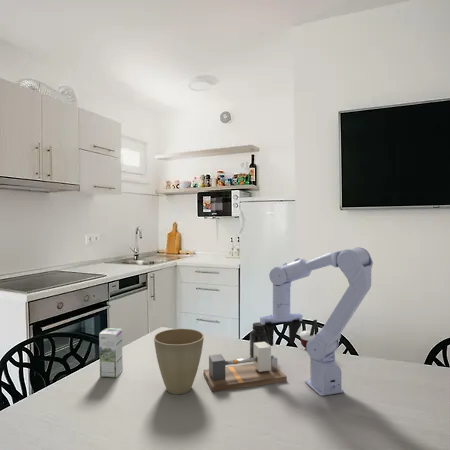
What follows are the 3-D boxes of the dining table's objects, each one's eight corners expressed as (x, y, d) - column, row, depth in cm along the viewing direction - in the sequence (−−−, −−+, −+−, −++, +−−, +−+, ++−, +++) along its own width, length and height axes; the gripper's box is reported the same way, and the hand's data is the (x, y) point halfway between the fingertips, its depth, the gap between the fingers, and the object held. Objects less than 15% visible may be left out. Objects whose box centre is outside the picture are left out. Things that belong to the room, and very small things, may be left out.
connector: (225, 379, 110) (225, 360, 110) (212, 381, 109) (212, 361, 109) (221, 372, 115) (221, 354, 115) (209, 374, 114) (208, 355, 114)
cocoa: (299, 344, 145) (297, 314, 146) (314, 343, 145) (313, 314, 145) (303, 351, 136) (301, 320, 136) (319, 351, 136) (318, 319, 136)
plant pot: (196, 403, 99) (196, 346, 99) (146, 398, 102) (145, 342, 102) (209, 379, 114) (209, 329, 113) (165, 375, 117) (164, 326, 116)
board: (286, 381, 112) (286, 376, 112) (212, 391, 105) (212, 386, 105) (271, 365, 124) (271, 361, 124) (203, 374, 117) (203, 369, 117)
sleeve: (270, 370, 114) (270, 346, 114) (259, 371, 113) (259, 348, 113) (264, 363, 119) (264, 341, 119) (253, 365, 118) (253, 342, 118)
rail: (277, 370, 117) (277, 355, 116) (217, 378, 111) (217, 363, 111) (274, 367, 118) (274, 353, 118) (216, 375, 113) (216, 360, 113)
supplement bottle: (269, 360, 128) (269, 327, 128) (250, 360, 129) (250, 327, 128) (267, 352, 135) (267, 321, 135) (249, 352, 135) (249, 321, 135)
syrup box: (123, 370, 120) (122, 327, 120) (116, 378, 114) (115, 333, 114) (107, 369, 121) (106, 327, 120) (99, 377, 115) (98, 333, 115)
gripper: (295, 298, 124) (295, 337, 124) (256, 301, 120) (256, 341, 120) (305, 303, 117) (305, 344, 118) (264, 306, 113) (264, 349, 113)
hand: (281, 343), depth 118 cm, fingers open, 7 cm apart
